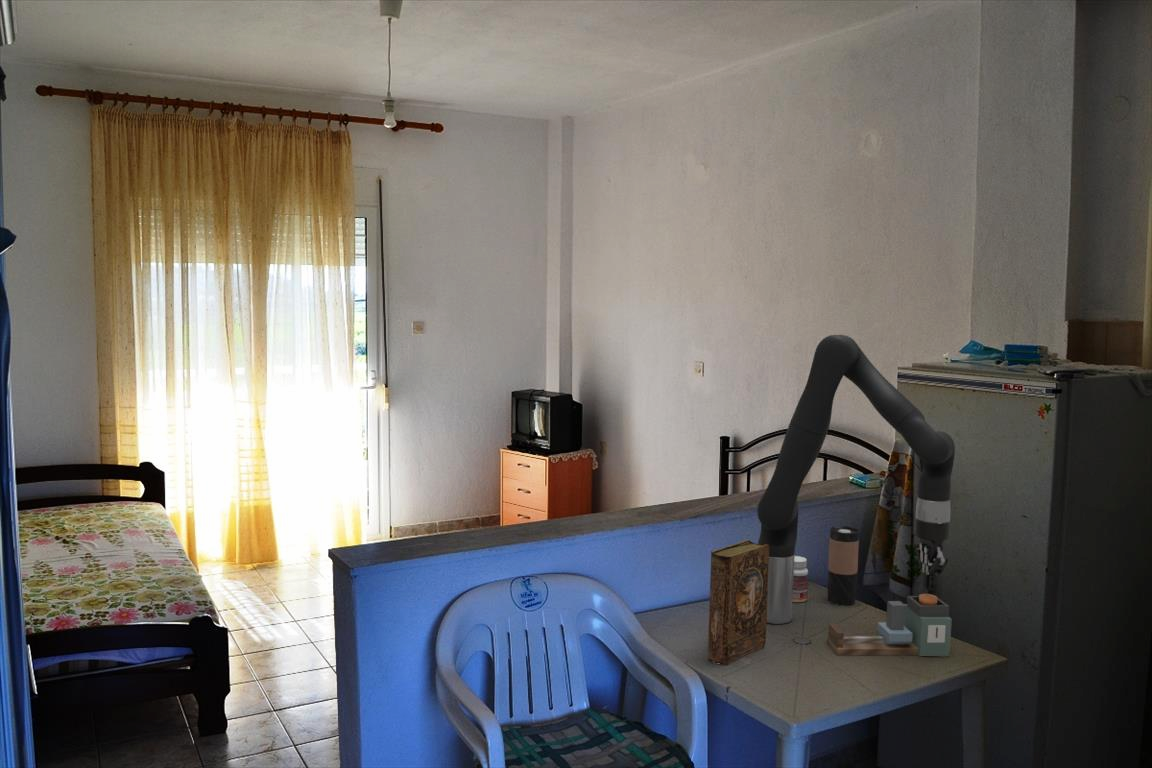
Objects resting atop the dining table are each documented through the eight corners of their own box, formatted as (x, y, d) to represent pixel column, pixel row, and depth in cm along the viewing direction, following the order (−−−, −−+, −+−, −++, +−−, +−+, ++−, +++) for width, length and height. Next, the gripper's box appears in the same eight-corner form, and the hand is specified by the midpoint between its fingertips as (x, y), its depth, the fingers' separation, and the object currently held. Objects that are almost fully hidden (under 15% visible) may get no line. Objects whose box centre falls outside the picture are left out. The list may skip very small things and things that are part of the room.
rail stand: (837, 655, 210) (838, 634, 210) (826, 642, 218) (827, 621, 218) (918, 654, 211) (919, 634, 211) (903, 641, 219) (904, 621, 219)
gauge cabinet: (920, 657, 210) (923, 609, 209) (902, 639, 220) (904, 593, 219) (950, 657, 210) (953, 609, 209) (930, 639, 221) (932, 593, 220)
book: (724, 666, 203) (727, 558, 201) (704, 659, 207) (707, 552, 204) (765, 647, 215) (769, 543, 212) (746, 640, 219) (750, 539, 216)
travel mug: (851, 608, 242) (855, 534, 239) (822, 602, 246) (826, 530, 243) (859, 600, 248) (862, 528, 246) (831, 594, 252) (834, 524, 250)
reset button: (923, 607, 212) (923, 599, 212) (915, 601, 216) (916, 593, 216) (939, 607, 213) (940, 599, 212) (932, 601, 217) (932, 593, 216)
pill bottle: (811, 600, 247) (813, 559, 246) (796, 604, 244) (797, 563, 243) (794, 593, 252) (796, 554, 251) (779, 597, 249) (780, 557, 248)
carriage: (888, 646, 211) (890, 608, 210) (877, 635, 218) (879, 598, 217) (911, 646, 212) (914, 608, 211) (899, 635, 219) (901, 598, 218)
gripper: (905, 510, 219) (901, 580, 220) (929, 524, 205) (925, 599, 207) (935, 510, 219) (932, 580, 221) (961, 524, 206) (957, 598, 208)
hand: (929, 589), depth 214 cm, fingers closed
